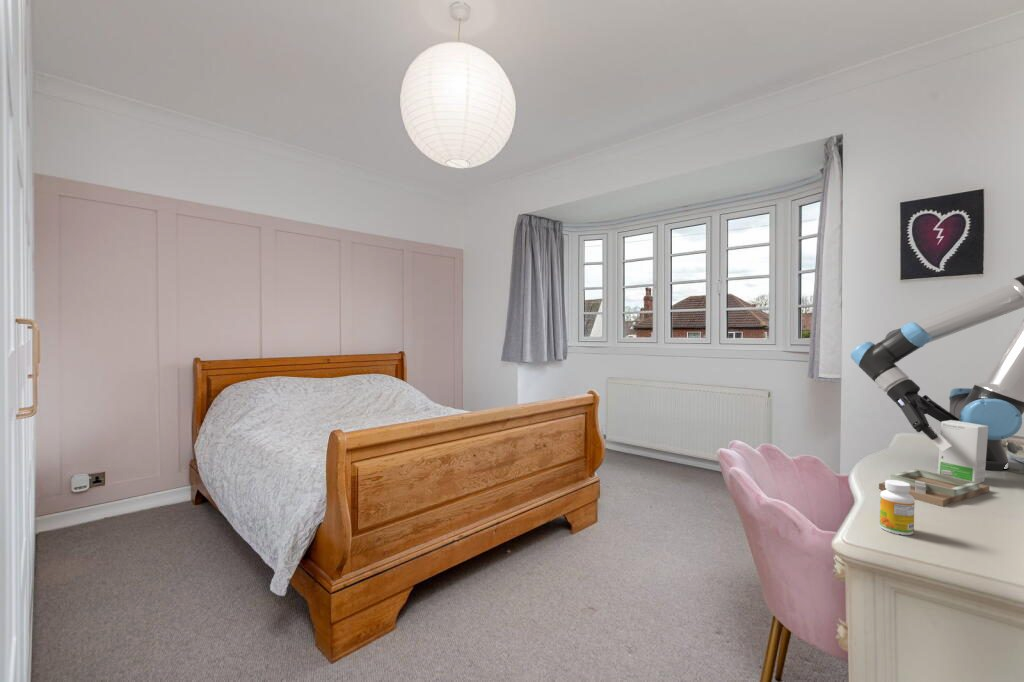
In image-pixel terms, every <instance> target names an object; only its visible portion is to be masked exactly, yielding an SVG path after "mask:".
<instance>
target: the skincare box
mask: <svg viewBox="0 0 1024 682" xmlns="http://www.w3.org/2000/svg"><path fill="white" fill-rule="evenodd" d="M940 434H941V435H942V436H943V437H944V438H945V439H946V440H947V441H948V442H949V443H950V444H952V445H953V446H952V447H950V448H948V449H947V450H945V451H943V452H942V451H941V450H940V449H939V448H938V449H939V452H938V461H937V463H938V465H937V474H942V470H947V471H951V473H952V477H955V478H960V479H964V480H969V481H973V482H978V483H980V484H982V483H984V482H985V477H986V469H985V466H986V452H987V438H988V426H985V425H979V424H973V423H967V422H961V421H954V420H948V421H942V422H940ZM981 482H982V483H981Z"/></svg>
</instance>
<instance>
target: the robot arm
mask: <svg viewBox="0 0 1024 682" xmlns="http://www.w3.org/2000/svg"><path fill="white" fill-rule="evenodd" d="M1022 308H1024V274H1021V275H1020V276H1017V277H1015V278H1013V279H1011V280H1010V281H1009V284H1007V285H1004V286H1001V287H1000V288H997V289H994V290H992V291H989V292H987V293H985V294H981V295H978V296H977V297H974V298H972V299H969V300H967V301H964V302H962V303H960V304H957V305H954V306H952V307H950V308H947V309H945V310H942V311H940V312H937V313H934V314H933V315H930V316H927V317H924V318H922V319H919V320H917V321H915V322H914V321H912V322H911V321H910V322H909V323H906V324H905V325H902V326H901V327H900V328H898V329H893V330H891V331H889V332H888V333H887V334H886V335H885V337H884V339H882V340H881V341H880V342H877V343H876V344H875V343H874V342H871V341H866V342H865V341H864V342H863V343H862V344H859V345H857V346H855V348H854V349H853V350H852V351H851V353H850V359H852V360H853V362H854V363H855V364H856V365H857V366H858V367H859V368H860V370H862V371H863V372H864V373H865V374H866V375H867V376H868V377H869V378H870V379H871V380H872V381H873V382H874V383H875V384H876V385H877V388H878V389H881V390H882V391H883V392H884V393H886V395H887V396H888V397H889V398H890V399H891V400H892V401H893V402H894V403H895V405H897V406H898V407H899V408H900V410H901V411H902V412H903V414H904V416H905V417H906V419H907V420H908V422H909V423H910V425H911V427H912V429H914V430H915V431H916V432H917V433H920V432H922V433H923V434H924V435H925V436H926V437H927V438H928V439H929V440H930V441H931V442H932V443H933V444H934V445H935V446H936V447H937V448H938V449H940V450H941V451H942V452H943V451H945V450H947V449H948V448H950V447H952V446H953V445H952V444H950V443H949V442H948V441H947V440H946V439H945V438H944V437H943V436H942V435H941V432H939V430H937V429H936V427H935V426H934V425H930V424H929V422H928V419H927V417H926V415H928V416H930V417H931V418H933V419H935V420H936V421H938V422H940V423H941V422H942V421H948V420H954V421H961V422H967V423H973V424H979V425H985V426H988V438H987V452H986V466H985V470H990V471H991V470H992V471H1004V470H1003V469H1004V467H1005V465H1006V464H1007V463H1008V460H1009V459H1008V456H1007V454H1006V451H1005V449H1004V446H1003V442H1002V440H1005V439H1008V438H1010V437H1013V436H1015V435H1016V434H1017V433H1018V432H1019V431H1020V429H1021V428H1022V424H1023V417H1022V416H1023V414H1024V318H1023V320H1022V321H1021V323H1020V324H1019V326H1018V328H1017V329H1016V331H1015V332H1014V334H1013V336H1012V337H1011V338H1010V341H1009V342H1008V343H1007V346H1006V347H1005V349H1004V350H1003V352H1002V353H1001V355H1000V356H999V358H998V360H997V362H996V363H995V364H994V366H993V368H992V370H991V371H990V373H989V374H988V376H987V377H986V379H985V380H984V381H981V382H978V383H974V385H973V387H972V388H965V387H963V388H962V387H961V388H959V387H956V388H952V389H951V390H950V393H949V396H948V399H949V411H948V410H947V409H945V408H944V407H942V406H941V405H939V404H938V403H937V402H935V401H934V400H932V399H931V398H930V397H929V396H928V395H927V394H925V395H923V396H921V395H919V391H921V387H920V386H919V385H918V384H917V383H916V382H915V381H913V380H912V379H910V378H909V375H908V374H907V373H905V372H904V371H903V370H902V369H901V368H900V367H899V366H898V365H896V363H898V362H900V361H901V360H903V359H904V358H905V357H907V356H909V355H910V354H912V353H914V352H916V351H918V350H919V349H921V348H923V347H924V346H926V345H928V344H929V343H932V342H935V341H937V340H940V339H943V338H945V337H948V336H951V335H953V334H956V333H959V332H962V331H964V330H967V329H969V328H972V327H974V326H975V327H976V326H977V325H980V324H983V323H985V322H988V321H992V320H993V319H997V318H999V317H1003V316H1004V315H1007V314H1010V313H1013V312H1015V311H1018V310H1020V309H1022Z"/></svg>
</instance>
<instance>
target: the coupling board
mask: <svg viewBox="0 0 1024 682" xmlns="http://www.w3.org/2000/svg"><path fill="white" fill-rule="evenodd" d="M890 480H898V481H903V482H906V483H909V484H910V492H909V494H910V495H912V496H913V498H914V500H917V501H921V502H924V503H927V504H928V503H929V504H932V505H936V506H939V507H945V506H948V505H949V506H950V505H952V504H954V503H958V502H962V501H964V500H967V499H971V498H973V497H977V496H981V495H983V493H984V494H986V492H987V493H989V492H990V485H989V484H983V483H978V482H973V481H969V480H964V479H960V478H955V477H952V473H951V471H947V470H942V474H938V472H937V473H936V472H931V471H928V470H922V469H919V468H915V469H912V470H911V469H910V470H907V471H903V472H899V473H895V474H891V475H890ZM879 489H880V491H883V490H886V488H885V481H884V482H880V483H878V490H879Z"/></svg>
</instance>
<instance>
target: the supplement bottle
mask: <svg viewBox="0 0 1024 682" xmlns="http://www.w3.org/2000/svg"><path fill="white" fill-rule="evenodd" d="M884 482H885V488H886V490H884V491H883V490H881V492H880V504H879V527H880V529H882V530H883V531H886V532H888V533H891V532H892V533H891V534H894V533H895V535H899V534H901V535H900V536H911V535H913V534H914V532H915V503H916V502H915V499H914V498H913V496H912V495H910V494H909V492H910V484H909V483H906V482H903V481H898V480H891V479H886V480H885V481H884Z"/></svg>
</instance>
